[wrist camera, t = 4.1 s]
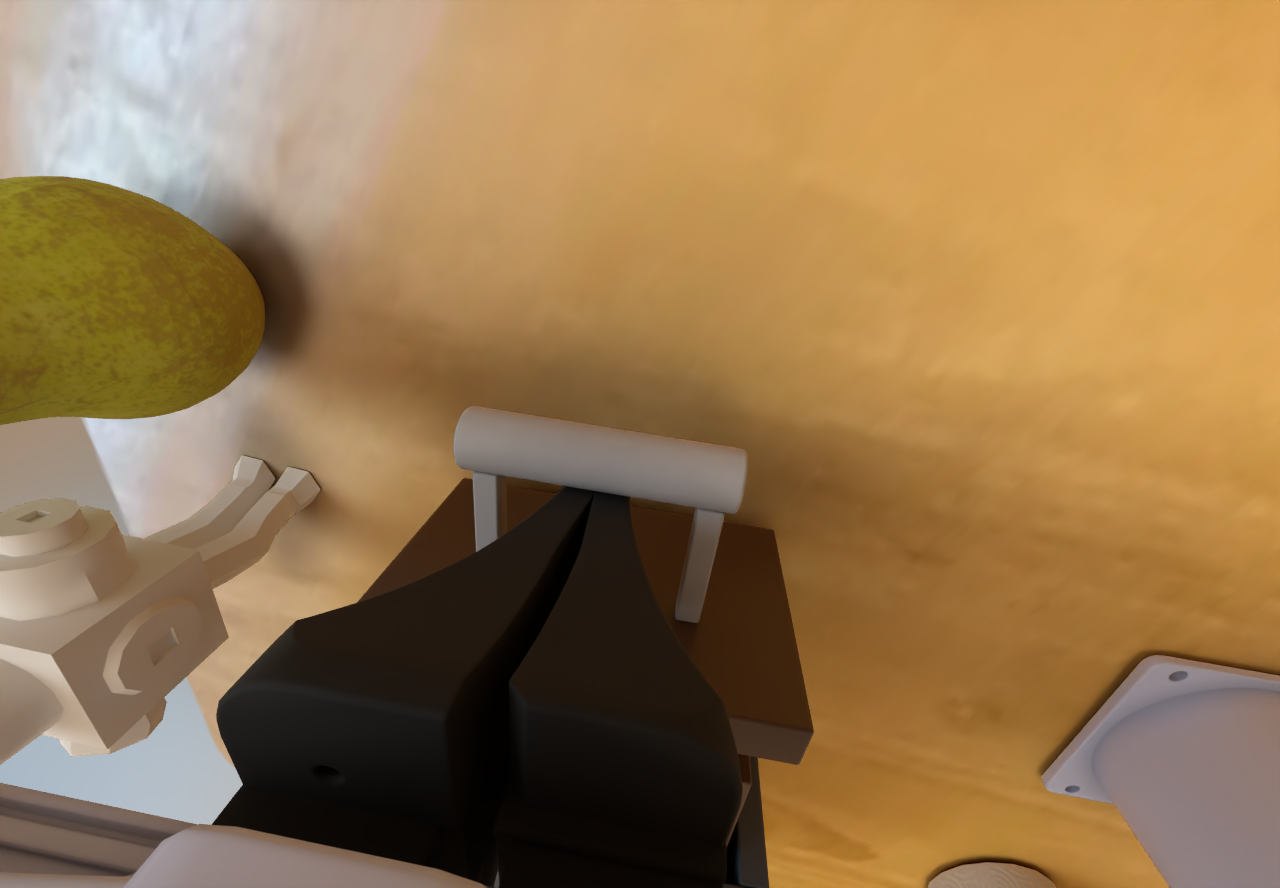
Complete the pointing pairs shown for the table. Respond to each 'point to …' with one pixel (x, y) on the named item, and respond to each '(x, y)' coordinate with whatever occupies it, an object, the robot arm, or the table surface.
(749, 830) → the cabinet
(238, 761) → the robot arm
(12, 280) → the fruit
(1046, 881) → the paper towel roll
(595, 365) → the table surface
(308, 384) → the table surface
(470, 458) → the drawer
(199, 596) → the toy robot
